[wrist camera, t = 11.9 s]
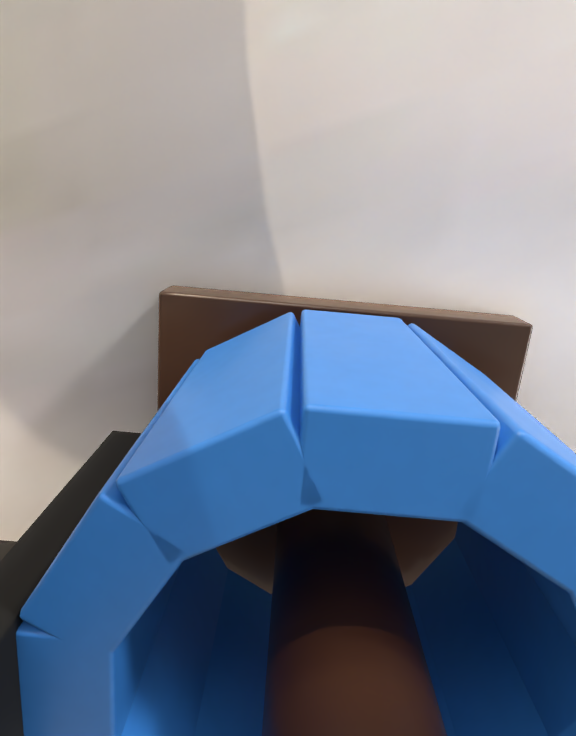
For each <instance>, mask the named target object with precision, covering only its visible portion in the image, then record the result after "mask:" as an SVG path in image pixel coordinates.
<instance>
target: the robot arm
mask: <svg viewBox="0 0 576 736" xmlns="http://www.w3.org/2000/svg"><path fill="white" fill-rule="evenodd" d="M141 434H142V433H131V432H119V431H112V433H111V434H110V435H109V436H108V437H107V438H106V440H105V441H104V442H103V443H102V444H101V445H100V447H99V448H98V449H97V450H96V451H95V452H94V453H93V455H92V456H91V457H90V458H89V459H88V460H87V462H86V463H85V464H84V465H83V466H82V467H81V469H80V470H79V471H78V472H77V473H76V474H75V475H74V477H73V478H72V479H71V480H70V481H69V482H68V484H67V485H66V486H65V487H64V488H63V489H62V490H61V492H60V493H59V494H58V495H57V496H56V497H55V499H54V500H53V501H52V502H51V503H50V504H49V506H48V507H47V508H46V509H45V510H44V511H43V512H42V514H41V515H40V516H39V517H38V518H37V519H36V521H35V522H34V523H33V524H32V525H31V526H30V528H29V529H28V530H27V531H26V532H25V533H24V534H23V536H22V537H21V538H20V539H19V540H18V541H17V542H14V541H2V540H0V736H24V732H23V720H22V707H21V694H20V682H19V669H18V657H17V644H16V632H17V630H18V628H19V626H20V625H21V623H22V622H23V620H22V619H21V618H20V612H21V609H22V607H23V606H24V604H25V603H26V601H27V600H28V598H29V597H30V595H31V594H32V592H33V591H34V589H35V588H36V586H37V585H38V583H39V582H40V580H41V579H42V577H43V576H44V574H45V573H46V571H47V570H48V568H49V567H50V565H51V564H52V562H53V561H54V559H55V558H56V556H57V555H58V553H59V552H60V550H61V549H62V547H63V546H64V544H65V543H66V541H67V540H68V538H69V537H70V535H71V534H72V532H73V531H74V529H75V528H76V526H77V525H78V523H79V522H80V520H81V519H82V517H83V516H84V514H85V513H86V511H87V510H88V508H89V507H90V505H91V504H92V502H93V501H94V499H95V498H96V496H97V495H98V493H99V492H100V491H101V489H102V488H103V486H104V485H105V484H106V482H107V481H108V479H109V478H110V477H111V475H112V474H113V473H114V471H115V470H116V468H117V467H118V466H119V464H120V463H121V462H122V460H123V459H124V457H125V456H126V455H127V453H128V452H129V450H130V449H131V448H132V446H133V445H134V444H135V442H136V441H137V439H138V438H139V437H140V435H141Z"/></svg>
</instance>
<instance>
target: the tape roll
mask: <svg viewBox="0 0 576 736" xmlns="http://www.w3.org/2000/svg"><path fill="white" fill-rule="evenodd" d="M312 509H319V510H331V511H342V512H353V513H365V514H376V515H388V516H399V517H410V518H422V519H433V520H444V521H456V522H458V525H457V530H456V535H455V538H454V539H453V540H452V541H451V542H450V544H449V545H448V546H447V547H446V548H445V549H444V550H443V551H442V552H441V553H440V554H439V555H438V557H437V558H436V559H435V560H434V561H433V562H432V563H431V564H430V565H429V566H428V567H427V568H426V569H425V571H424V572H423V573H422V574H421V575H420V576H419V577H418V578H417V579H416V580H415V581H414V582H413V584H412V585H409V586H406V587H405V588H406V592H407V595H408V599H409V602H410V606H411V609H412V613H413V616H414V620H415V624H416V627H417V631H418V634H419V638H420V641H421V645H422V648H423V652H424V655H425V659H426V663H427V666H428V670H429V673H430V677H431V680H432V684H433V687H434V691H435V695H436V698H437V702H438V705H439V709H440V712H441V716H442V719H443V723H444V726H445V730H446V734H447V736H576V454H575V453H574V452H573V451H572V450H571V449H570V448H568V447H567V446H566V445H565V444H564V443H563V442H562V441H560V440H559V439H558V438H557V437H556V436H555V435H554V434H552V433H551V432H550V431H549V430H548V429H547V428H545V427H544V426H543V425H542V424H541V423H540V422H539V421H537V420H536V419H535V418H534V417H533V416H532V415H531V414H529V413H528V412H527V411H526V410H525V409H524V408H522V407H521V406H520V405H519V404H518V403H517V402H516V401H514V400H513V399H512V398H511V397H510V396H509V395H508V394H506V393H505V392H504V391H503V390H502V389H501V388H500V387H498V386H497V385H496V384H495V383H494V382H493V381H491V380H490V379H489V378H488V377H487V376H486V375H485V374H483V373H482V372H480V371H479V370H478V369H476V368H475V367H473V366H472V365H471V364H469V363H468V362H466V361H465V360H464V359H462V358H461V357H460V356H458V355H457V354H455V353H454V352H453V351H451V350H450V349H448V348H447V347H446V346H444V345H443V344H442V343H440V342H439V341H437V340H436V339H435V338H433V337H432V336H430V335H429V334H428V333H426V332H425V331H424V330H422V329H421V328H419V327H418V326H417V325H415V324H412V323H411V324H409V325H408V326H407V325H406V324H405V323H404V322H403V321H402V320H401V319H400V318H395V317H384V316H373V315H361V314H350V313H339V312H328V311H316V310H303V311H302V312H301V321H300V326H299V324H298V322H297V320H296V318H295V315H294V314H293V313H292V312H289V313H286V314H284V315H282V316H280V317H278V318H276V319H273V320H271V321H269V322H267V323H265V324H262V325H260V326H258V327H256V328H254V329H252V330H249V331H247V332H245V333H243V334H241V335H239V336H236V337H234V338H232V339H230V340H228V341H225V342H223V343H221V344H219V345H217V346H215V347H212V348H210V349H208V350H206V351H205V353H204V354H203V355H202V357H201V358H200V359H196V360H194V362H193V363H192V365H191V366H190V367H189V369H188V370H187V372H186V373H185V374H184V376H183V377H182V378H181V380H180V381H179V383H178V384H177V385H176V387H175V388H174V390H173V391H172V392H171V394H170V395H169V396H168V398H167V399H166V401H165V402H164V403H163V405H162V406H161V408H160V409H159V410H158V412H157V413H156V414H155V416H154V417H153V419H152V420H151V421H150V423H149V424H148V426H147V427H146V428H145V430H144V431H143V432H142V434H141V435H140V437H139V438H138V439H137V441H136V442H135V444H134V445H133V446H132V448H131V449H130V450H129V452H128V453H127V455H126V456H125V457H124V459H123V460H122V462H121V463H120V464H119V466H118V467H117V468H116V470H115V471H114V473H113V474H112V475H111V477H110V478H109V479H108V481H107V482H106V484H105V485H104V486H103V488H102V489H101V491H100V492H99V493H98V495H97V496H96V498H95V499H94V501H93V502H92V504H91V505H90V507H89V508H88V510H87V511H86V513H85V514H84V516H83V517H82V519H81V520H80V522H79V523H78V525H77V526H76V528H75V529H74V531H73V532H72V534H71V535H70V537H69V538H68V540H67V541H66V543H65V544H64V546H63V547H62V549H61V550H60V552H59V553H58V555H57V556H56V558H55V559H54V561H53V562H52V564H51V565H50V567H49V568H48V570H47V571H46V573H45V574H44V576H43V577H42V579H41V580H40V582H39V583H38V585H37V586H36V588H35V589H34V591H33V592H32V594H31V595H30V597H29V598H28V600H27V601H26V603H25V604H24V606H23V607H22V609H21V612H20V618H21V619H22V620H23V622H22V623H21V625H20V626H19V628H18V630H17V632H16V644H17V657H18V669H19V682H20V694H21V707H22V720H23V732H24V736H262V725H263V711H264V698H265V684H266V671H267V657H268V644H269V630H270V617H271V603H272V594H270V593H268V592H267V591H265V590H263V589H262V588H260V587H258V586H256V585H255V584H253V583H251V582H250V581H248V580H246V579H245V578H243V577H241V576H240V575H238V574H236V573H235V572H233V571H231V570H230V569H228V568H227V567H226V565H225V563H224V561H223V560H222V558H221V556H220V555H219V553H218V551H217V549H216V547H219V546H221V545H224V544H226V543H229V542H231V541H234V540H236V539H239V538H241V537H244V536H246V535H249V534H251V533H254V532H256V531H259V530H261V529H264V528H266V527H269V526H271V525H274V524H276V523H279V522H282V521H284V520H287V519H289V518H292V517H294V516H297V515H299V514H302V513H304V512H307V511H309V510H312Z"/></svg>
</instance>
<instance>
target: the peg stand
mask: <svg viewBox="0 0 576 736" xmlns="http://www.w3.org/2000/svg"><path fill="white" fill-rule="evenodd" d="M303 310H316V311H328V312H339V313H350V314H361V315H373V316H384V317H395V318H400V319H401V320H402V321H403V322H404V323H405V324H406V325H407V326H408V325H409V324H411V323H412V324H415V325H417V326H418V327H419V328H421V329H422V330H424V331H425V332H426V333H428V334H429V335H430V336H432V337H433V338H435V339H436V340H437V341H439V342H440V343H442V344H443V345H444V346H446V347H447V348H448V349H450V350H451V351H453V352H454V353H455V354H457V355H458V356H460V357H461V358H462V359H464V360H465V361H466V362H468V363H469V364H471V365H472V366H473V367H475V368H476V369H478V370H479V371H480V372H482V373H483V374H485V375H486V376H487V377H488V378H489V379H490V380H491V381H493V382H494V383H495V384H496V385H497V386H498V387H500V388H501V389H502V390H503V391H504V392H505V393H506V394H508V395H509V396H510V397H511V398H512V399H513V400H514V401H516V399H517V395H518V391H519V386H520V382H521V377H522V373H523V368H524V364H525V359H526V355H527V350H528V346H529V341H530V337H531V333H532V325H531V324H529V323H527V322H525V321H523V320H521V319H519V318H516V317H514V316H510V315H498V314H487V313H476V312H464V311H453V310H442V309H431V308H419V307H408V306H397V305H385V304H374V303H363V302H351V301H340V300H329V299H318V298H306V297H295V296H284V295H272V294H261V293H250V292H239V291H227V290H216V289H205V288H193V287H182V286H170V287H169V288H167V289H165V290H163V291H161V292H160V294H159V338H158V408H157V412H158V410H159V409H160V408H161V406H162V405H163V403H164V402H165V401H166V399H167V398H168V396H169V395H170V394H171V392H172V391H173V390H174V388H175V387H176V385H177V384H178V383H179V381H180V380H181V378H182V377H183V376H184V374H185V373H186V372H187V370H188V369H189V367H190V366H191V365H192V363H193V362H194V360H196V359H200V358H201V357H202V355H203V354H204V353H205V351H206V350H208V349H210V348H212V347H215V346H217V345H219V344H221V343H223V342H225V341H228V340H230V339H232V338H234V337H236V336H239V335H241V334H243V333H245V332H247V331H249V330H252V329H254V328H256V327H258V326H260V325H262V324H265V323H267V322H269V321H271V320H273V319H276V318H278V317H280V316H282V315H284V314H286V313H289V312H292V313H293V314H294V315H295V318H296V320H297V322H298V324H299V326H300V321H301V312H302V311H303ZM457 525H458V522H456V521H444V520H433V519H422V518H410V517H399V516H388V515H376V514H365V513H353V512H342V511H331V510H319V509H312V510H309V511H307V512H304V513H302V514H299V515H297V516H294V517H292V518H289V519H287V520H284V521H282V522H279V523H276V524H274V525H271V526H269V527H266V528H264V529H261V530H259V531H256V532H254V533H251V534H249V535H246V536H244V537H241V538H239V539H236V540H234V541H231V542H229V543H226V544H224V545H221V546H219V547H216V549H217V551H218V553H219V555H220V556H221V558H222V560H223V561H224V563H225V565H226V567H227V568H228V569H230V570H231V571H233V572H235V573H236V574H238V575H240V576H241V577H243V578H245V579H246V580H248V581H250V582H251V583H253V584H255V585H256V586H258V587H260V588H262V589H263V590H265V591H267V592H268V593H270V594H272V603H271V617H270V630H269V644H268V657H267V671H266V684H265V698H264V711H263V725H262V736H447V734H446V730H445V726H444V723H443V719H442V716H441V712H440V709H439V705H438V702H437V698H436V695H435V691H434V687H433V684H432V680H431V677H430V673H429V670H428V666H427V663H426V659H425V655H424V652H423V648H422V645H421V641H420V638H419V634H418V631H417V627H416V624H415V620H414V616H413V613H412V609H411V606H410V602H409V599H408V595H407V592H406V588H405V587H406V586H409V585H412V584H413V582H414V581H415V580H416V579H417V578H418V577H419V576H420V575H421V574H422V573H423V572H424V571H425V569H426V568H427V567H428V566H429V565H430V564H431V563H432V562H433V561H434V560H435V559H436V558H437V557H438V555H439V554H440V553H441V552H442V551H443V550H444V549H445V548H446V547H447V546H448V545H449V544H450V542H451V541H452V540H453V539H454V538H455V535H456V530H457Z"/></svg>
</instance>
